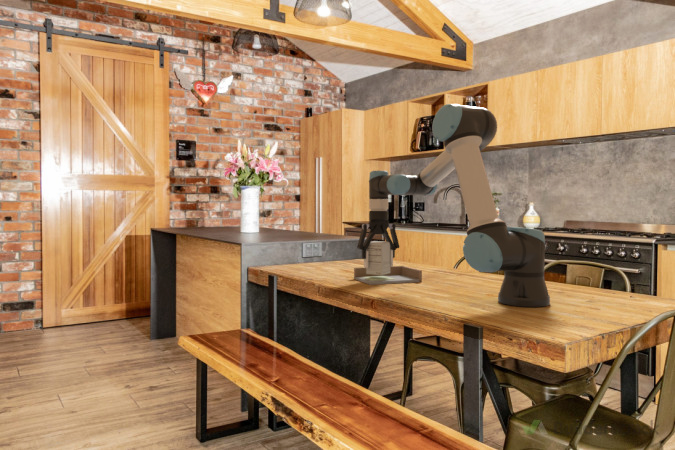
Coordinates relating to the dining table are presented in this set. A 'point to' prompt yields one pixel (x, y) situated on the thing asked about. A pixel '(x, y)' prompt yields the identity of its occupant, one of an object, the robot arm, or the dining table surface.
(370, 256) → the supplement box
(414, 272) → the brown tray
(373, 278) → the pad
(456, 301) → the dining table surface
